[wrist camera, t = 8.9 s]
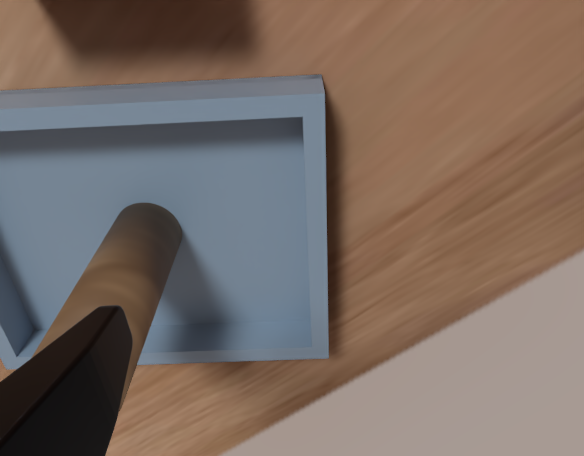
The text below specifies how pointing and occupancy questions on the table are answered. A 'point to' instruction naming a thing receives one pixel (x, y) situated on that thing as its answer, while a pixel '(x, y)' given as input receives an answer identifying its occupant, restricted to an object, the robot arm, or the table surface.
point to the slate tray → (172, 210)
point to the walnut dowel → (125, 275)
